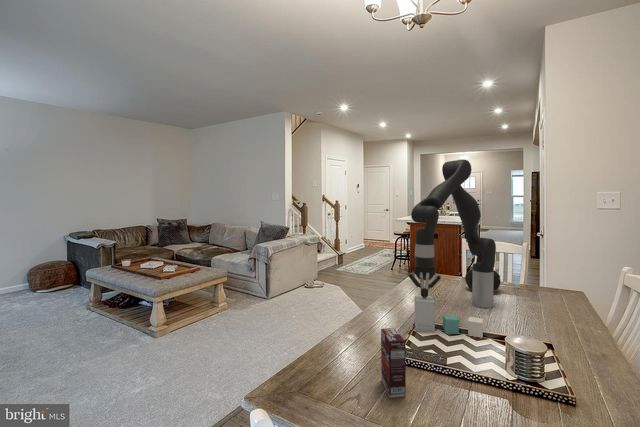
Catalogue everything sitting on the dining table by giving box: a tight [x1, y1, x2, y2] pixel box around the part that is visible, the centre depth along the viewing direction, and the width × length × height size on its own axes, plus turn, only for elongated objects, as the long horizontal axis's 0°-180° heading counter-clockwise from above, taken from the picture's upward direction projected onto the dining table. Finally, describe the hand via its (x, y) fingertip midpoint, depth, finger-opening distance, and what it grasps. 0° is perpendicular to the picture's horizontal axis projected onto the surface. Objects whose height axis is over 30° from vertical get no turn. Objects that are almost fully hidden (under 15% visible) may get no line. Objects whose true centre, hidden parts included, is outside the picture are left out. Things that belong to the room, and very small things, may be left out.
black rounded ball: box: [464, 256, 502, 293], centre depth 183 cm, size 18×18×28 cm
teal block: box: [442, 314, 460, 335], centre depth 130 cm, size 5×5×6 cm
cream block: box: [467, 316, 484, 337], centre depth 127 cm, size 5×5×6 cm
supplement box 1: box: [380, 327, 407, 399], centre depth 92 cm, size 9×5×16 cm, turn 5°
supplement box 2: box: [414, 295, 436, 334], centre depth 133 cm, size 7×7×13 cm
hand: (424, 297), depth 133 cm, fingers closed
